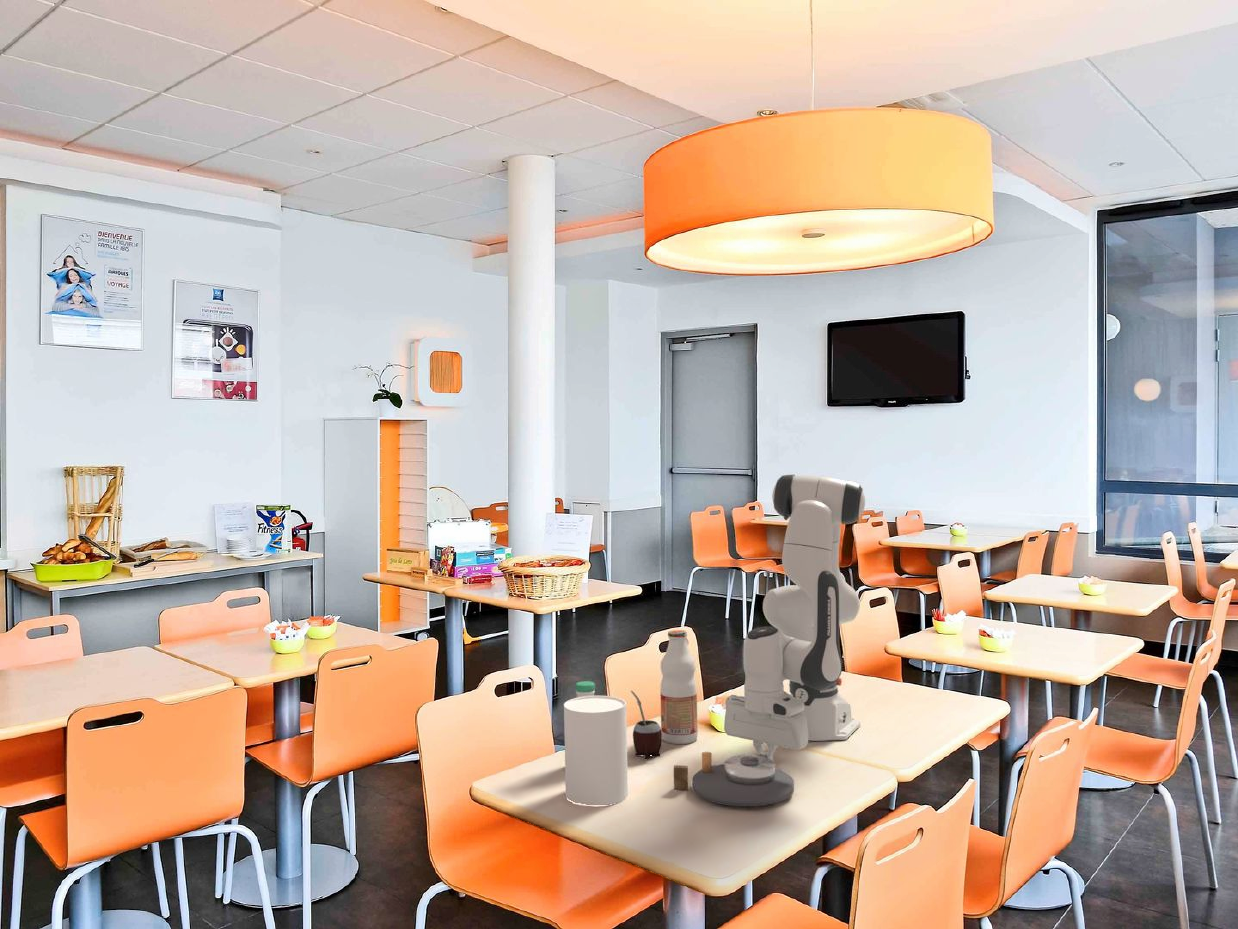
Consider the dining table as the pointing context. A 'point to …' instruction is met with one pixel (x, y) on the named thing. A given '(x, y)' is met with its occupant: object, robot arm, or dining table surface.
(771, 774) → the cover
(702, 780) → the turntable
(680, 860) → the dining table surface
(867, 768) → the dining table surface
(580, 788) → the canister
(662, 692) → the fruit juice
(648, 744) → the mate gourd
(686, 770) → the brown wooden block
